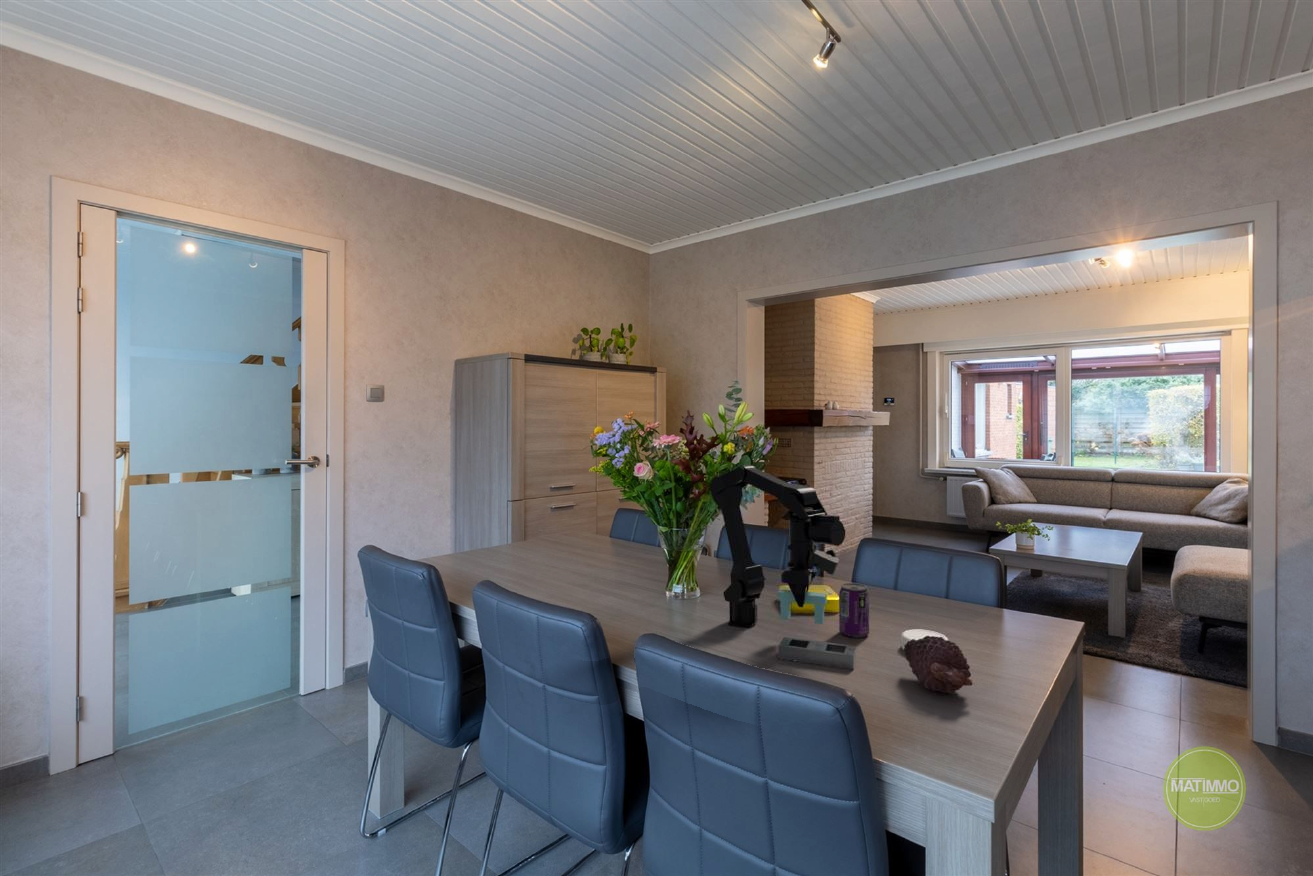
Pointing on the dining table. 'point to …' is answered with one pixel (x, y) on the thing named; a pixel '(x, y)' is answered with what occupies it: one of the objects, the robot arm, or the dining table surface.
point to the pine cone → (938, 664)
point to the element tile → (830, 606)
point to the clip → (810, 598)
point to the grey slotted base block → (817, 652)
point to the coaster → (918, 635)
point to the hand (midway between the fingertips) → (802, 605)
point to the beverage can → (854, 610)
